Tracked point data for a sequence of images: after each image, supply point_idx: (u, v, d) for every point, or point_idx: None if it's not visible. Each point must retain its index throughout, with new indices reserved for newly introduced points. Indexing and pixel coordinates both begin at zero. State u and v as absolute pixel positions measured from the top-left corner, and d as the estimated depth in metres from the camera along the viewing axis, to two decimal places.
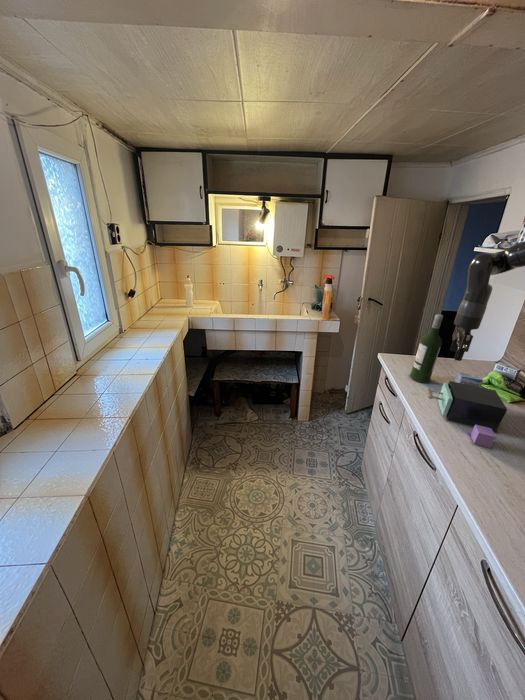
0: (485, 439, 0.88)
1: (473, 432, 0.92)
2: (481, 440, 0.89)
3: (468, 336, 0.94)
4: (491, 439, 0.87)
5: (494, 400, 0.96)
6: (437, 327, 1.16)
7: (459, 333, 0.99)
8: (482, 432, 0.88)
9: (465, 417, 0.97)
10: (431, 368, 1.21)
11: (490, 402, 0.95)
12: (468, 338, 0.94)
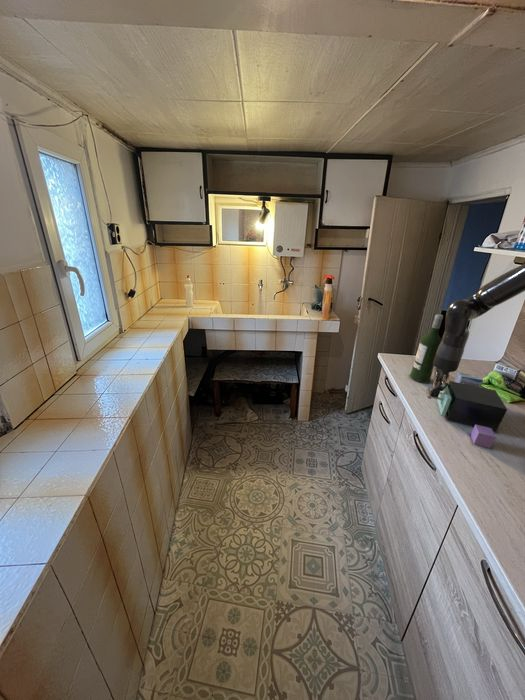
0: (485, 439, 0.88)
1: (473, 432, 0.92)
2: (481, 440, 0.89)
3: (443, 385, 0.97)
4: (491, 439, 0.87)
5: (494, 400, 0.96)
6: (437, 327, 1.16)
7: (438, 374, 1.00)
8: (482, 432, 0.88)
9: (465, 417, 0.97)
10: (431, 368, 1.21)
11: (490, 402, 0.95)
12: (443, 386, 0.97)
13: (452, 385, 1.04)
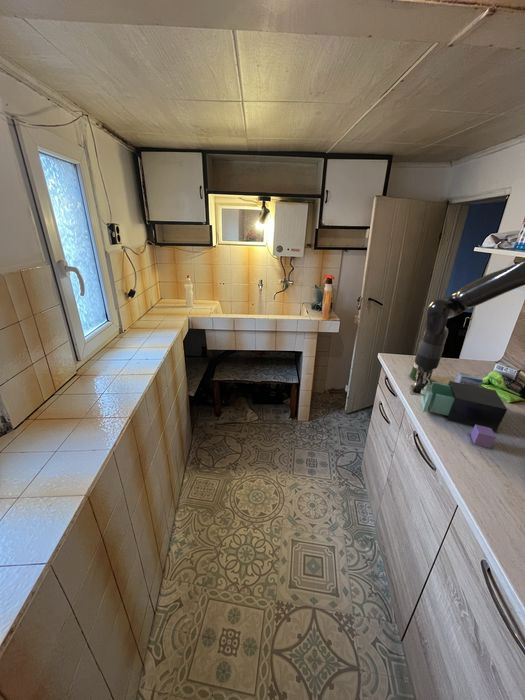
0: (485, 439, 0.88)
1: (473, 432, 0.92)
2: (481, 440, 0.89)
3: (423, 382, 0.99)
4: (491, 439, 0.87)
5: (494, 400, 0.96)
6: None
7: (419, 371, 1.02)
8: (482, 432, 0.88)
9: (465, 417, 0.97)
10: None
11: (490, 402, 0.95)
12: (423, 383, 0.99)
13: (452, 385, 1.04)
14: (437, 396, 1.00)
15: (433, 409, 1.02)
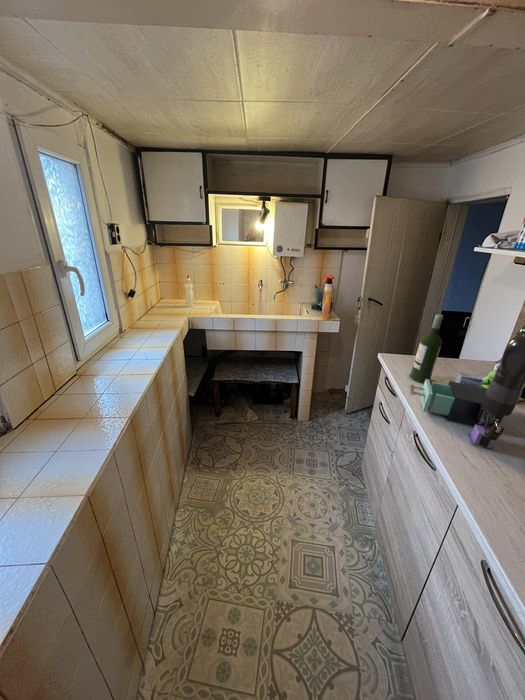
0: None
1: (473, 432, 0.92)
2: None
3: (498, 429, 0.81)
4: None
5: None
6: (437, 327, 1.16)
7: (488, 417, 0.86)
8: (482, 432, 0.88)
9: (465, 417, 0.97)
10: (431, 368, 1.21)
11: None
12: (498, 431, 0.82)
13: (452, 385, 1.04)
14: (437, 396, 1.00)
15: (433, 409, 1.02)
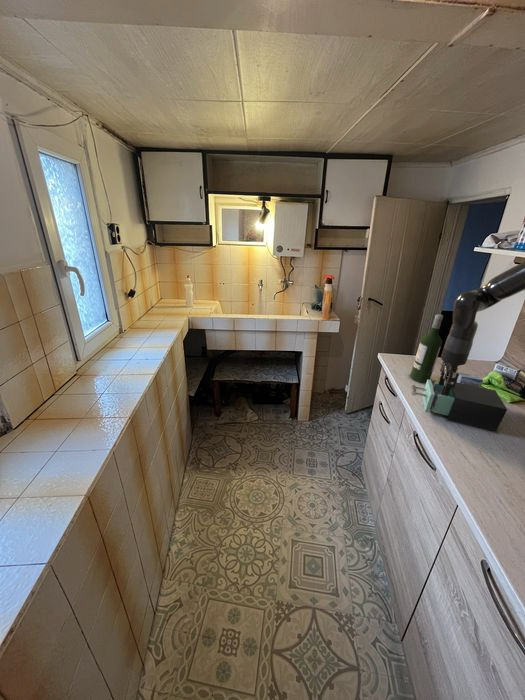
0: None
1: None
2: None
3: (454, 374, 0.93)
4: None
5: (494, 400, 0.96)
6: (437, 327, 1.16)
7: (446, 368, 0.98)
8: None
9: (465, 417, 0.97)
10: (431, 368, 1.21)
11: (490, 402, 0.95)
12: (454, 376, 0.93)
13: None
14: (439, 396, 1.00)
15: (435, 409, 1.02)
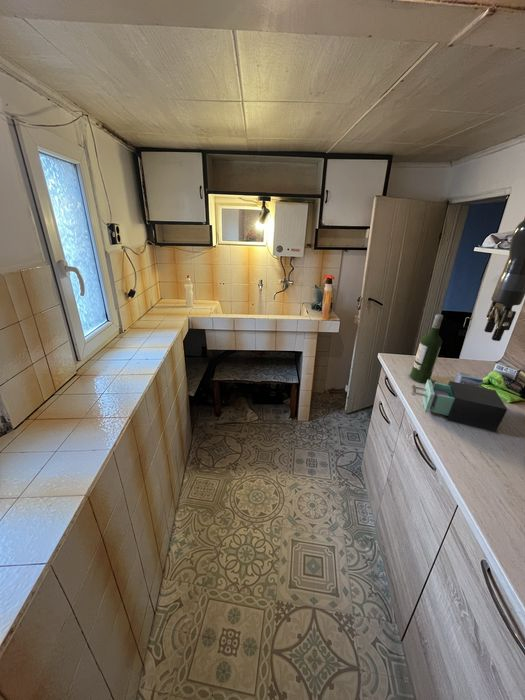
0: None
1: None
2: None
3: (510, 312, 0.84)
4: None
5: (494, 400, 0.96)
6: (437, 327, 1.16)
7: (498, 310, 0.89)
8: None
9: (465, 417, 0.97)
10: (431, 368, 1.21)
11: (490, 402, 0.95)
12: (510, 314, 0.84)
13: (452, 385, 1.04)
14: (439, 396, 1.00)
15: (435, 409, 1.02)
